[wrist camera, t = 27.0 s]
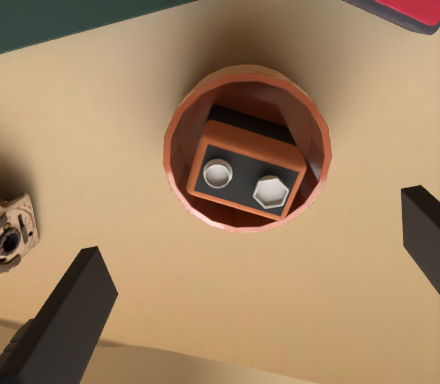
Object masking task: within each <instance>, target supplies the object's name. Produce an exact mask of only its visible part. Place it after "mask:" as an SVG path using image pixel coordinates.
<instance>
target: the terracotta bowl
mask: <svg viewBox="0 0 440 384" xmlns="http://www.w3.org/2000/svg"><path fill="white" fill-rule="evenodd" d="M213 105H220V106H224V107H227V108H230V109H233V110H236V111H239V112H242V113H246V114H249V115H252V116H255V117H258V118H261V119H264V120H267V121H271V122H274V123H277V124H280V125H283V126H286V127H288V128H289V130H290V132H291V134H292V136H293V138H294V140H295V142H296V144H297V147H298V149H299V151H300V153H301V155H302V157H303V159H304V161H305V164H306V167H307V169H306V172H305V174H304V176H303V179H302V181H301V183H300V185H299V188H298V190H297V192H296V195H295V197H294V199H293V202H292V204H291V206H290V208H289V211H288V213H287V215H286V217H285V218H284V219H283V220H274V219H271V218H267V217H264V216H261V215H257V214H254V213H251V212H247V211H244V210H241V209H237V208H234V207H231V206H227V205H224V204H220V203H217V202H214V201H210V200H207V199H204V198H200V197H197V196H194V195H191V194H190V193H188V191H187V189H186V186H187V182H188V179H189V175H190V172H191V168H192V165H193V162H194V158H195V155H196V151H197V148H198V145H199V141H200V138H201V135H202V132H203V129H204V126H205V123H206V120H207V117H208V114H209V111H210V109H211V107H212V106H213ZM331 158H332V153H331V144H330V136H329V129H328V126H327V124H326V123H325V121H324V119H323V117H322V115H321V114H320V112H319V110H318V108H317V106H316V105H315V103H314V102H313V100H312V99H311V98H310V97H309V96H308V95H307V94H306V93H305V92H304V91H303V90H302V89H301V88H300V87H299V86H297V85H296V84H295V83H294V82H293V81H291V80H290V79H289V78H288V77H286V76H285V75H284V74H283V73H281V72H278V71H276V70H273V69H271V68H268V67H264V66H260V65H256V64H254V65H251V64H243V65H234V66H228V67H226V68H223V69H220V70H218V71H216V72H214V73H212V74H210V75H208V76H206V77H204V78H203V79H202V80H201V81H200V82H199V83H198V84H197V85H196V86H195V87H194V88H193V89H192V90H191V91H190V92H189V93H188V94H187V95H186V97H185V98H184V99H183V101H182V102H181V103H180V105H179V106H178V108H177V109H176V111H175V113H174V115H173V117H172V120H171V122H170V124H169V126H168V129H167V131H166V133H165V136H164V152H163V165H164V169H165V172H166V175H167V178H168V181H169V184H170V188H171V190H172V191H173V192H174V194H175V195H176V196H177V198H178V199H179V200H180V202H181V203H182V204H183V206H184V207H185V208H186V209H187V210H188V211H189V212H190V213H192V214H193V215H195V216H196V217H198V218H199V219H201V220H202V221H204V222H205V223H207V224H208V225H210V226H214V227H217V228H221V229H224V230H228V231H231V232H263V231H266V230H269V229H272V228H275V227H277V226H280V225H283V224H286V223H288V222H290V221H291V220H292V219H294V218H295V217H296V216H298V215H299V214H300V213H302V212H303V211H304V210H306V209H307V208H308V207H309V206H310V205H311V204H312V202H313V201H314V199H315V198H316V196H317V195H318V193H319V192H320V190H321V189H322V188H323V186H324V185H325V182H326V178H327V174H328V170H329V166H330V162H331Z"/></svg>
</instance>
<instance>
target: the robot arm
mask: <svg viewBox="0 0 440 384" xmlns="http://www.w3.org/2000/svg"><path fill="white" fill-rule="evenodd" d="M401 201H402V223H403V245H404V247H405V249H406V250H407V251H408V253H409V254H410V255H411V257H412V258H413V259H414V261H415V262H416V263H417V265H418V266H419V267H420V269H421V270H422V272H423V273H424V274H425V276H426V277H427V278H428V280H429V281H430V282H431V284H432V285H433V286H434V288H435V289H436V290H437V292H438V293H439V294H440V202H439V201H438V200H437V199H436V198H435V197H434V196H433V195H431V194H430V193H429V192H428V191H427V190H426V189H425V188H424V187H422V186H421V185H419V186H413V187H408V188H403V189H401ZM117 296H118V292H117V290H116V288H115V286H114V283H113V281H112V279H111V276H110V274H109V272H108V269H107V267H106V265H105V263H104V260H103V258H102V256H101V253H100V251H99V249H98V246H95V247H90V248H85V249H81V251H80V252H79V254H78V255H77V257H76V258H75V259H74V261H73V262H72V264H71V265H70V267H69V268H68V270H67V271H66V273H65V274H64V276H63V277H62V279H61V280H60V281H59V283H58V284H57V286H56V287H55V289H54V290H53V292H52V293H51V295H50V296H49V298H48V299H47V301H46V302H45V304H44V305H43V306H42V308H41V309H40V311H39V312H38V314H37V315H36V317H35V318H33V319H30V320H29V321H27V322H26V323H25V324H24V325H23V326H22V327H21V328H20V329H19V330H18V331H17V332H16V334H15V335H14V337H13V338H12V339H11V341H10V344H8V345H7V346H6V348H5V349H4V352H3V353H2V354H1V355H0V384H79V383H80V381H81V379H82V376H83V374H84V372H85V369H86V367H87V365H88V363H89V360H90V358H91V356H92V353H93V351H94V349H95V346H96V344H97V342H98V340H99V337H100V335H101V333H102V330H103V328H104V326H105V323H106V321H107V319H108V317H109V314H110V312H111V310H112V307H113V305H114V303H115V300H116V298H117Z"/></svg>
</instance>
